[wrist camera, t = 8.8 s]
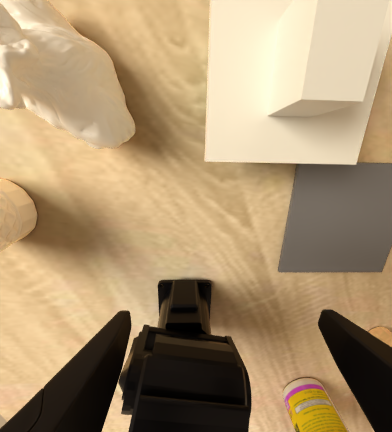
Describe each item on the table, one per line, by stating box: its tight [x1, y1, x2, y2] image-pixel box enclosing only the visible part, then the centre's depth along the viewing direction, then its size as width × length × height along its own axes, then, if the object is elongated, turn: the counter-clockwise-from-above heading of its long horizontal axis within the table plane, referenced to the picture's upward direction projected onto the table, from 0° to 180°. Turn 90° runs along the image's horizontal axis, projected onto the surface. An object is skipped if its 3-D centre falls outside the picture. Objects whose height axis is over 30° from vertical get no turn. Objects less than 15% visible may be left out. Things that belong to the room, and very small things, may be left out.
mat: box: [278, 163, 392, 272], centre depth 22 cm, size 13×13×1 cm
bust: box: [0, 0, 135, 149], centre depth 13 cm, size 12×8×11 cm
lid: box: [205, 0, 392, 165], centre depth 10 cm, size 11×11×5 cm
